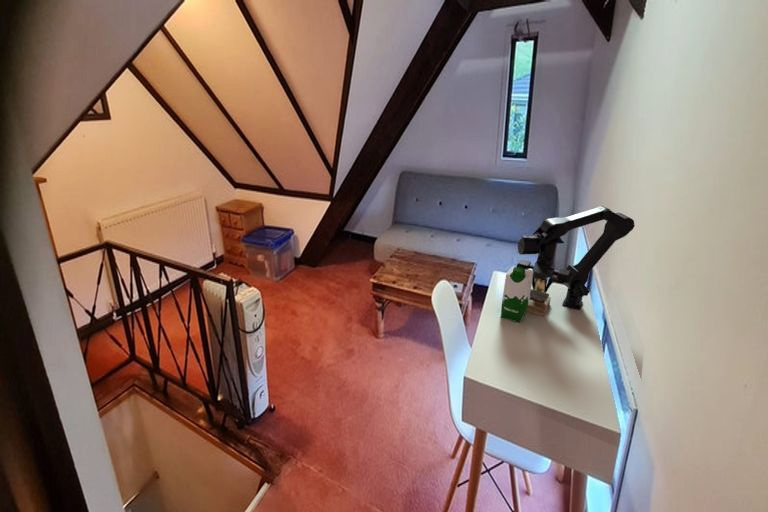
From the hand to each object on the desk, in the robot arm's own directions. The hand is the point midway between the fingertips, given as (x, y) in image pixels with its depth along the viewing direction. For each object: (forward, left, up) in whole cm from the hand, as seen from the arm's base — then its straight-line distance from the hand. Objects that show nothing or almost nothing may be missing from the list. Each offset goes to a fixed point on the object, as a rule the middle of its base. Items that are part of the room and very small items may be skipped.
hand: (539, 290), depth 150 cm
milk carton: (+13, -6, -7) cm, 15 cm away
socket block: (+2, 0, -6) cm, 7 cm away
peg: (0, 0, -3) cm, 3 cm away
